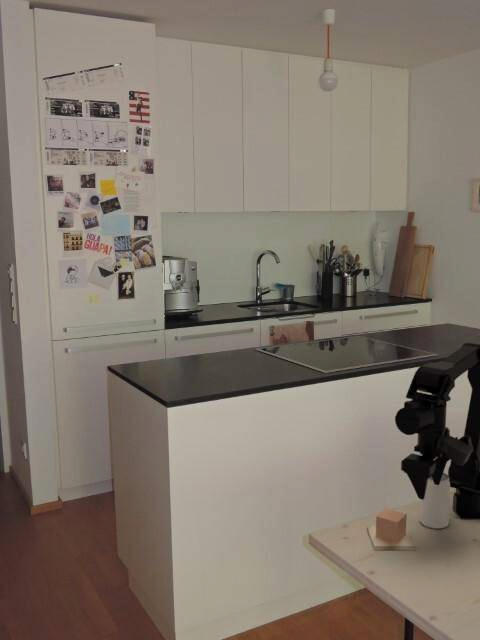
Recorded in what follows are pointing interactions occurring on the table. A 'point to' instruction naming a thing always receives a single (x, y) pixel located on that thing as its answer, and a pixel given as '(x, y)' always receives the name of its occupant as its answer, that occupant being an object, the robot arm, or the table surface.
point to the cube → (391, 525)
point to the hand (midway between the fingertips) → (429, 491)
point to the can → (436, 504)
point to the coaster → (381, 544)
